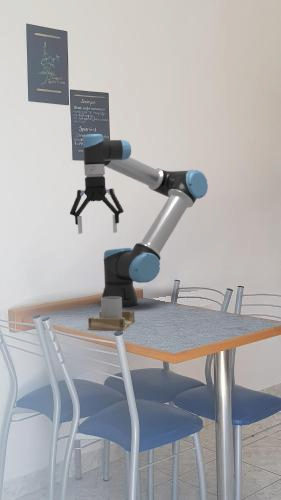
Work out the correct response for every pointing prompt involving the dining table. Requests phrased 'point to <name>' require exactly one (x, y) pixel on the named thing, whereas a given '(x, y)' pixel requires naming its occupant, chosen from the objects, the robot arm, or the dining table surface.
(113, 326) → the caddy
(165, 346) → the dining table surface
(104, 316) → the cup
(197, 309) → the dining table surface
